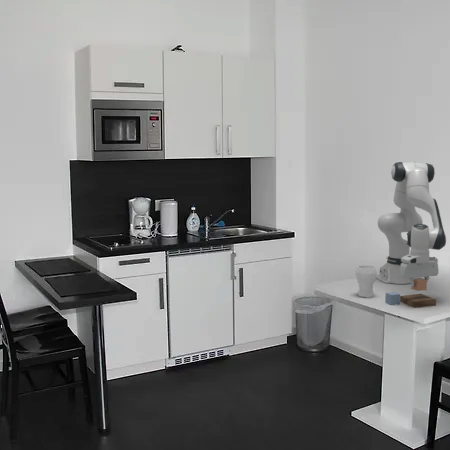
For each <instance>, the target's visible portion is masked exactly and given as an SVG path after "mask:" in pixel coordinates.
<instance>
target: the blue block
mask: <svg viewBox="0 0 450 450" xmlns="http://www.w3.org/2000/svg"><path fill="white" fill-rule="evenodd" d="M400 296H401V294H400V293H398V292H395V291H392V292H391V291H389V292H385V303H386V304H387V305H391V306H395V304H396V305H400V304H401V302H400Z"/></svg>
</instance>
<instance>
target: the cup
mask: <svg viewBox="0 0 450 450" xmlns="http://www.w3.org/2000/svg"><path fill="white" fill-rule="evenodd" d="M377 275H378V271H377V267H376V266H375V265H370V264H361V265H357V266H356V269H355V278H356V280H357V281H356V282H357V283H358V296H359V297H360V298H361V297H362V298H373V297H374V289H373V288H374V284H375V282H376V279H377V278H376V277H377Z"/></svg>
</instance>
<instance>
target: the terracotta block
mask: <svg viewBox="0 0 450 450" xmlns="http://www.w3.org/2000/svg"><path fill="white" fill-rule="evenodd" d="M413 281H414V283H416V286H415V287H411V286H410V287H411V288H410V289H411V290H414V291H417V292H419V291H421V292H422V291H427V285H428V281H427V280H426V279H425V278H424V277H418V278H414V280H413Z"/></svg>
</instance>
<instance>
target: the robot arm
mask: <svg viewBox="0 0 450 450" xmlns="http://www.w3.org/2000/svg"><path fill="white" fill-rule="evenodd" d="M390 174H391V179H393V181H395V182H396V183H395V184H396V185H395V188H394V189H395V190H394V195H393V202H394V204H395V206H396V207H398V208H400V210H399V211H400V212H389V213H384V214H381V215H380V216H379V217H378V220H377V227H378V229H379V231H380V232H382V234H384V235H385V236H386V239H387V241H388V254H389V255H388V256H387V257H386V259H387V260H386V263H385V264H383V265H382V266H380V267H379V274H377V277H376V279H377V280H379V281H380V282H382V283H385V284H396V285H397V284H398V285H406V284H410V287H415V286H416V283H414V281H413V280H414V278H423V279H426V280H427V282H428V281H429V280H430V277H436V276H437V277H438V275H439V264H438V263H439V260H438V258H437V257H435V256H430V250H437V251H440V250H441V249H443V248H445V246H446V243H447V236H446V233H445V231H444V225H443V223H442V217H441V213H440V209H439V204H438V203H437V200H436V198H434V197H433V196H432V194H431V193H430V184H429V183H431V182H432V181H433V180H434V177H435V174H436V172H435V167H434V166H433V164H430V163H424V162H416V161H412V162H411V161H409V162H408V161H407V162H406V161H405V162H404V161H399V162H395V163H394V164H393V165H392V167H391V171H390ZM416 208H418V209H420V210H423V211H425V212H427V213H428V214H429V215H430V216H431V221H432V227H433V228H432V229H429V225H427V224H424V223H423V218H422V216H421V214H419V213H418V212H417V210H416ZM402 233H406V235H407V236H406V239H404V238H403V236H402Z"/></svg>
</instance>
